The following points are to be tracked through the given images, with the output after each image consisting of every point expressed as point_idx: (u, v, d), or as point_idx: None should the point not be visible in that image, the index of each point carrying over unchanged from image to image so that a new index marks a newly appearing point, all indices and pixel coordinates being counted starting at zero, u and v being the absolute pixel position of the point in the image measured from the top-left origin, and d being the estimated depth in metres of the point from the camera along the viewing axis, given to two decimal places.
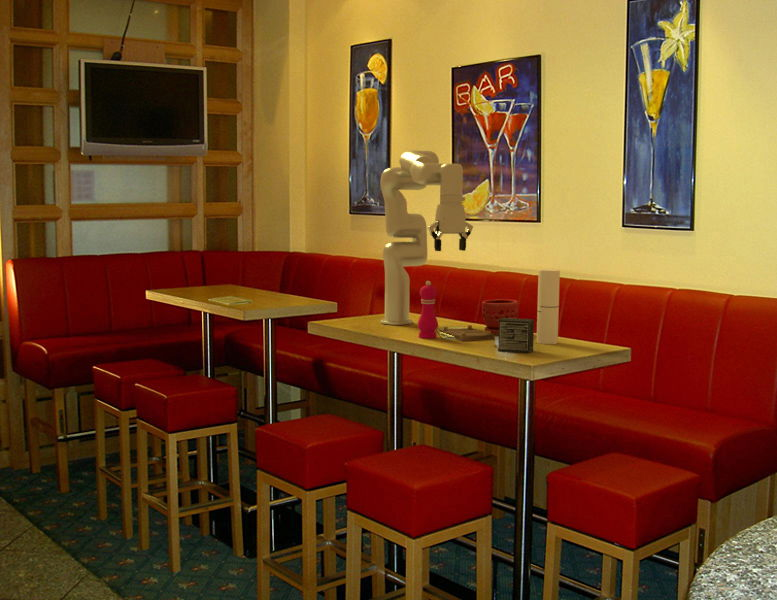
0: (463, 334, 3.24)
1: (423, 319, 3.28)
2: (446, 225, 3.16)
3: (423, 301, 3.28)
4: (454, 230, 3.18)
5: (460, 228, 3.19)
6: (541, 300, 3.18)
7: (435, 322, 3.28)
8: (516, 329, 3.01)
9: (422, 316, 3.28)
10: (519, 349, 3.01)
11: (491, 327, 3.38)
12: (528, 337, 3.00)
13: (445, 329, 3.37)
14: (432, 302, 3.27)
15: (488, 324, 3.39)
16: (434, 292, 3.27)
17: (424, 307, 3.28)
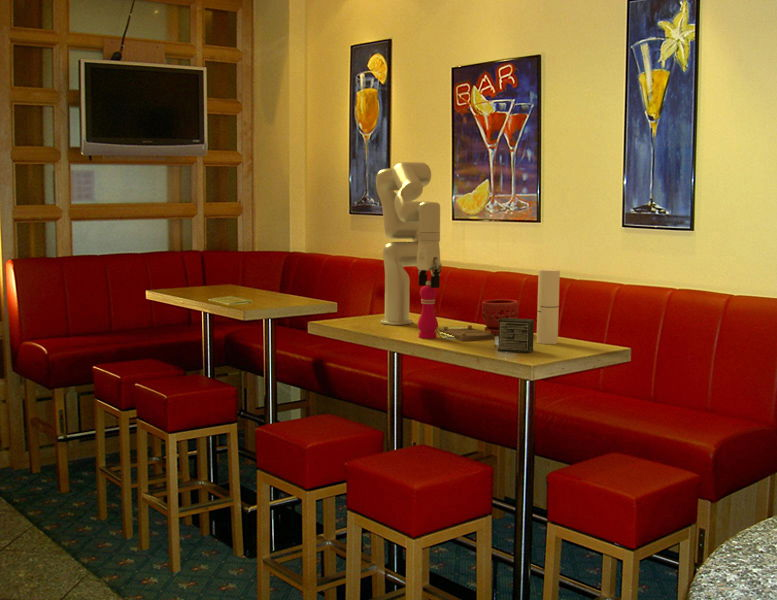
0: (463, 334, 3.24)
1: (423, 319, 3.28)
2: None
3: (423, 301, 3.28)
4: None
5: None
6: (541, 300, 3.18)
7: (435, 322, 3.28)
8: (516, 329, 3.01)
9: (422, 316, 3.28)
10: (519, 349, 3.01)
11: (491, 327, 3.38)
12: (528, 337, 3.00)
13: (445, 329, 3.37)
14: (432, 302, 3.27)
15: (488, 324, 3.39)
16: (434, 292, 3.27)
17: (424, 307, 3.28)
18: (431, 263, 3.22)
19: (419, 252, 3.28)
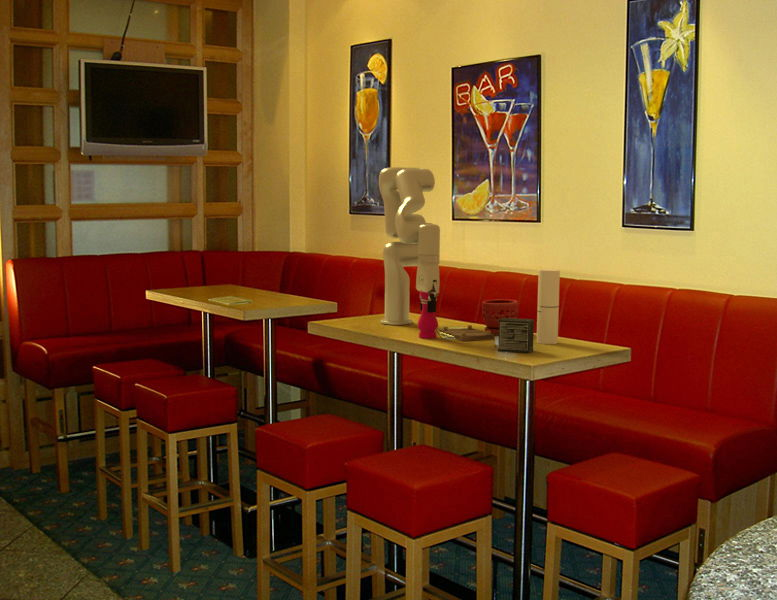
0: (463, 334, 3.24)
1: (423, 319, 3.28)
2: None
3: (423, 301, 3.28)
4: None
5: None
6: (541, 300, 3.18)
7: (435, 322, 3.28)
8: (516, 329, 3.01)
9: (422, 316, 3.28)
10: (519, 349, 3.01)
11: (491, 327, 3.38)
12: (528, 337, 3.00)
13: (445, 329, 3.37)
14: None
15: (488, 324, 3.39)
16: None
17: (424, 307, 3.28)
18: (430, 286, 3.23)
19: (418, 274, 3.29)
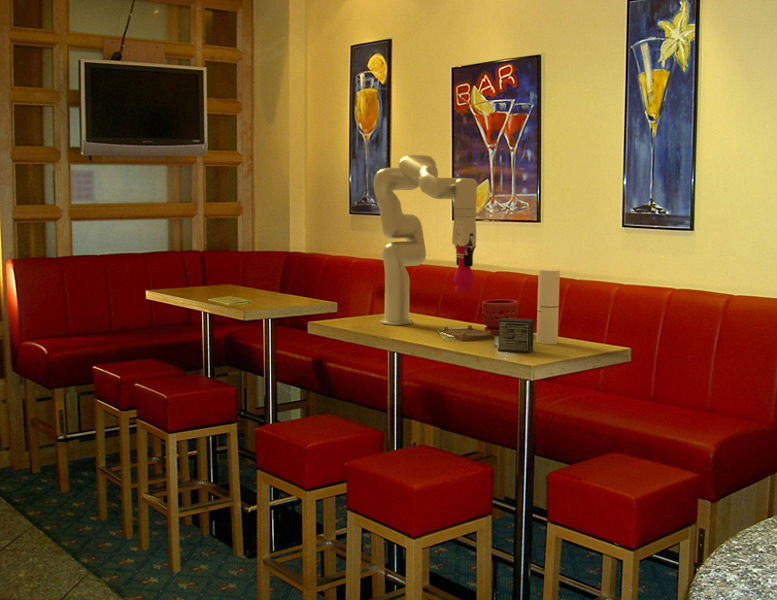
0: (463, 334, 3.24)
1: (459, 273, 3.28)
2: None
3: (460, 255, 3.28)
4: None
5: None
6: (541, 300, 3.18)
7: (471, 276, 3.29)
8: (516, 329, 3.01)
9: (458, 270, 3.29)
10: (519, 349, 3.01)
11: (491, 327, 3.38)
12: (528, 337, 3.00)
13: (445, 329, 3.37)
14: None
15: (488, 324, 3.39)
16: None
17: (460, 261, 3.29)
18: (467, 239, 3.24)
19: (455, 228, 3.30)
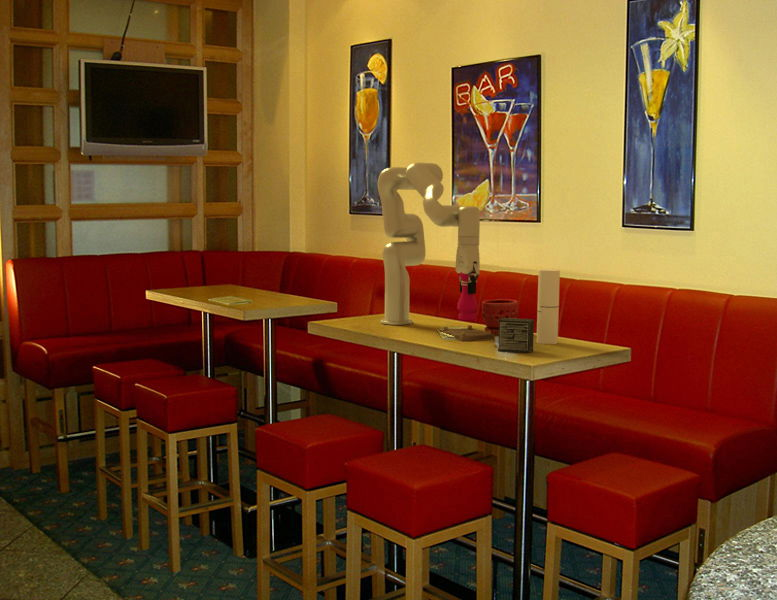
0: (463, 334, 3.24)
1: (463, 300, 3.29)
2: None
3: (463, 283, 3.30)
4: None
5: None
6: (541, 300, 3.18)
7: (475, 304, 3.30)
8: (516, 329, 3.01)
9: (462, 298, 3.30)
10: (519, 349, 3.01)
11: (491, 327, 3.38)
12: (528, 337, 3.00)
13: (445, 329, 3.37)
14: None
15: (488, 324, 3.39)
16: None
17: (464, 289, 3.30)
18: (471, 267, 3.25)
19: (458, 256, 3.31)
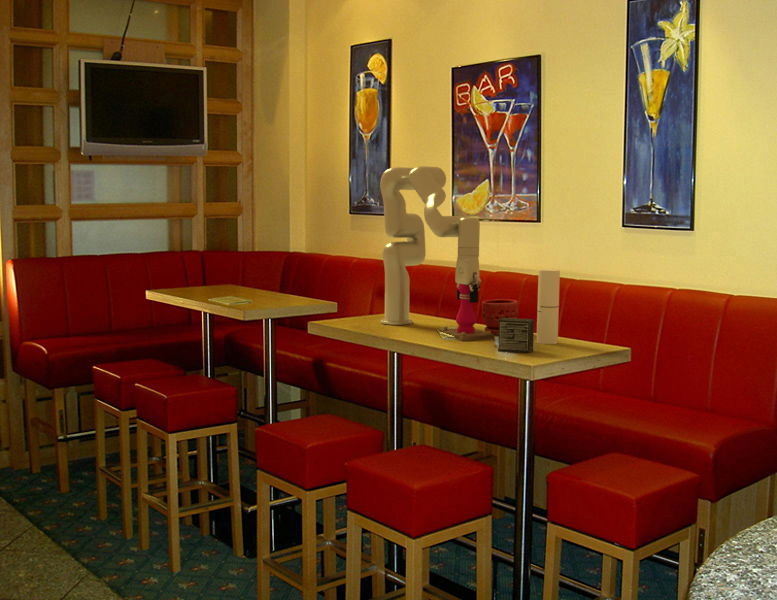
0: (463, 334, 3.24)
1: (462, 314, 3.30)
2: None
3: (462, 296, 3.31)
4: None
5: None
6: (541, 300, 3.18)
7: (474, 317, 3.31)
8: (516, 329, 3.01)
9: (461, 311, 3.31)
10: (519, 349, 3.01)
11: (491, 327, 3.38)
12: (528, 337, 3.00)
13: (445, 329, 3.37)
14: None
15: (488, 324, 3.39)
16: None
17: (463, 302, 3.31)
18: (470, 278, 3.26)
19: (458, 266, 3.31)
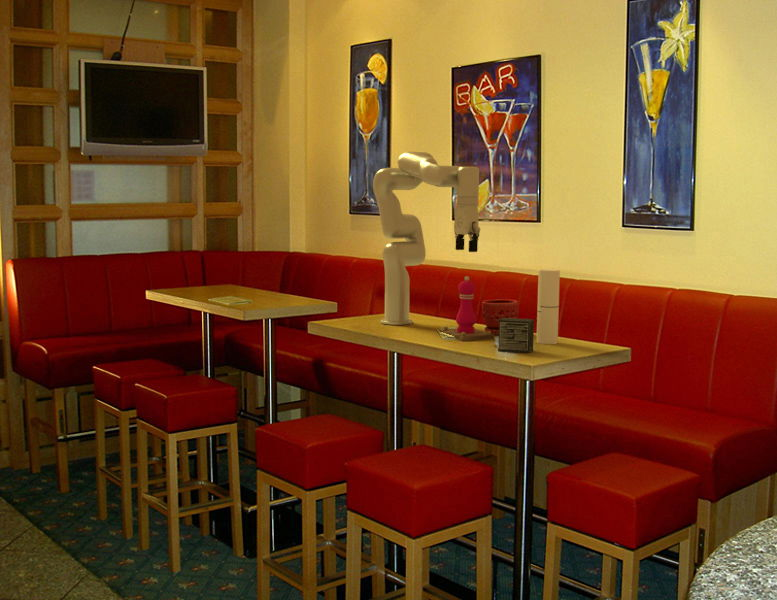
0: (463, 334, 3.24)
1: (461, 314, 3.30)
2: None
3: (462, 296, 3.31)
4: None
5: None
6: (541, 300, 3.18)
7: (473, 317, 3.31)
8: (516, 329, 3.01)
9: (461, 311, 3.31)
10: (519, 349, 3.01)
11: (491, 327, 3.38)
12: (528, 337, 3.00)
13: (445, 329, 3.37)
14: (471, 297, 3.30)
15: (488, 324, 3.39)
16: (473, 287, 3.30)
17: (463, 302, 3.31)
18: (470, 227, 3.24)
19: (457, 216, 3.30)
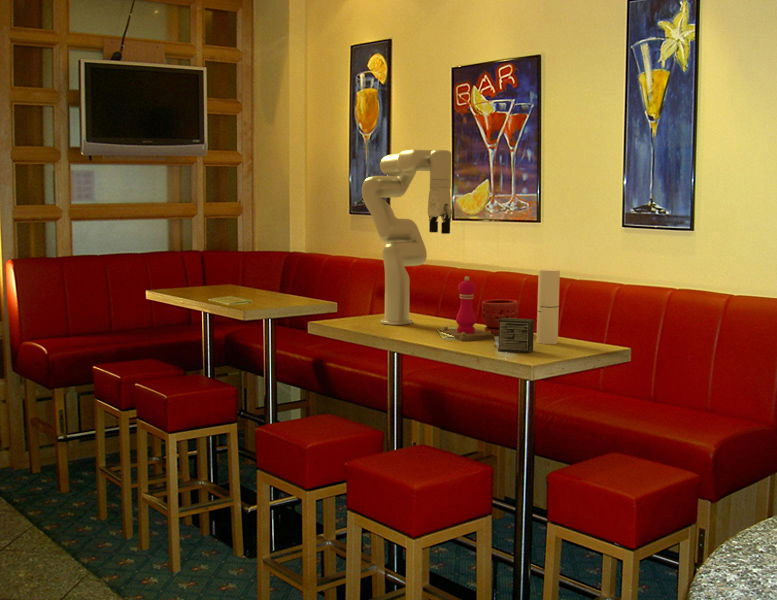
0: (463, 334, 3.24)
1: (462, 314, 3.30)
2: None
3: (462, 296, 3.31)
4: None
5: None
6: (541, 300, 3.18)
7: (474, 317, 3.31)
8: (516, 329, 3.01)
9: (461, 311, 3.31)
10: (519, 349, 3.01)
11: (491, 327, 3.38)
12: (528, 337, 3.00)
13: (445, 329, 3.37)
14: (471, 297, 3.30)
15: (488, 324, 3.39)
16: (473, 287, 3.30)
17: (463, 302, 3.31)
18: (442, 209, 3.31)
19: (430, 199, 3.36)
